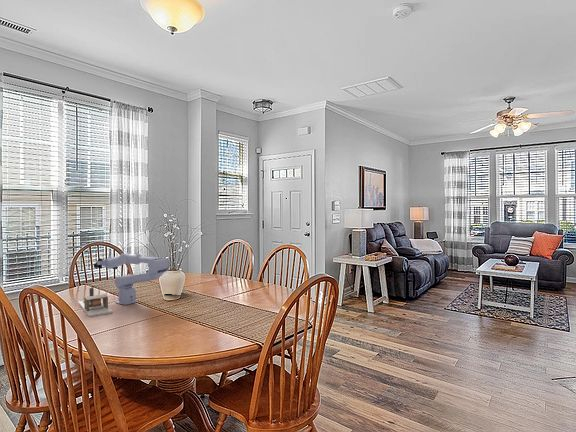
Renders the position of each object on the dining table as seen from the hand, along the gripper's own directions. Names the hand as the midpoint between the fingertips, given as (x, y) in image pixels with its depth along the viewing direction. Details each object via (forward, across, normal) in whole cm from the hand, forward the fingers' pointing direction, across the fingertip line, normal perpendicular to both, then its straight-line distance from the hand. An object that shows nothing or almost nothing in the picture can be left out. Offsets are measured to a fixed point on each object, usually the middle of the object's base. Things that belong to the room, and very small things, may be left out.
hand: (100, 266), depth 216 cm
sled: (-9, +10, +24) cm, 27 cm away
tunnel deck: (-8, +10, +25) cm, 28 cm away
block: (-13, +12, +25) cm, 31 cm away
